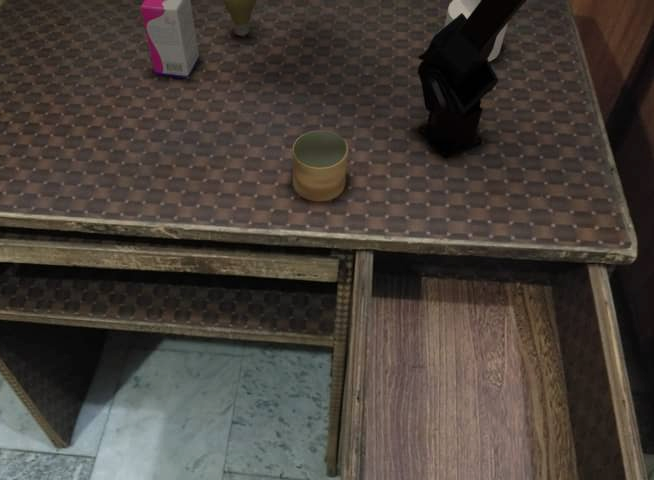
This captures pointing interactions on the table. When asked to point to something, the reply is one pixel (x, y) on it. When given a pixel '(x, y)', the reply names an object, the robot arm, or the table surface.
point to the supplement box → (171, 36)
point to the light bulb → (240, 14)
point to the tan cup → (319, 165)
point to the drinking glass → (466, 3)
